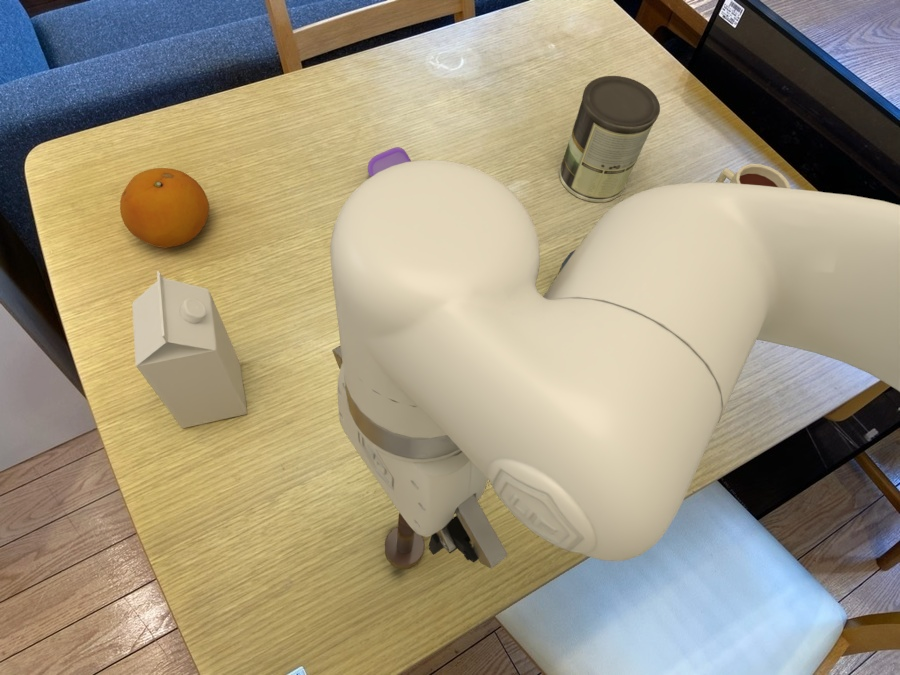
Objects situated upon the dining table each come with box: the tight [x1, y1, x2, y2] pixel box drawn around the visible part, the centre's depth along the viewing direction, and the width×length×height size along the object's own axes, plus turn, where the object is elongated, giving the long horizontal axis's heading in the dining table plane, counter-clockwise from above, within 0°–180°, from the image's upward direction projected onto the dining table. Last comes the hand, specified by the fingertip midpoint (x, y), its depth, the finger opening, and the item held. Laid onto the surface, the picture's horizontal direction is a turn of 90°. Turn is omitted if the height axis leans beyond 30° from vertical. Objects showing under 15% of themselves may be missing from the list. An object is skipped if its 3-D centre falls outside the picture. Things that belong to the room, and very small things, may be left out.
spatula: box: [367, 146, 412, 178], centre depth 87 cm, size 24×7×2 cm, turn 34°
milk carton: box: [131, 270, 248, 429], centre depth 64 cm, size 7×7×19 cm
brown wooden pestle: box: [384, 511, 426, 570], centre depth 59 cm, size 4×4×14 cm
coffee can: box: [558, 75, 661, 203], centre depth 89 cm, size 10×10×14 cm
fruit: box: [119, 167, 210, 248], centre depth 80 cm, size 10×10×8 cm
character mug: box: [715, 163, 792, 189], centre depth 84 cm, size 11×7×13 cm, turn 36°
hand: (409, 484), depth 46 cm, fingers open, 9 cm apart
